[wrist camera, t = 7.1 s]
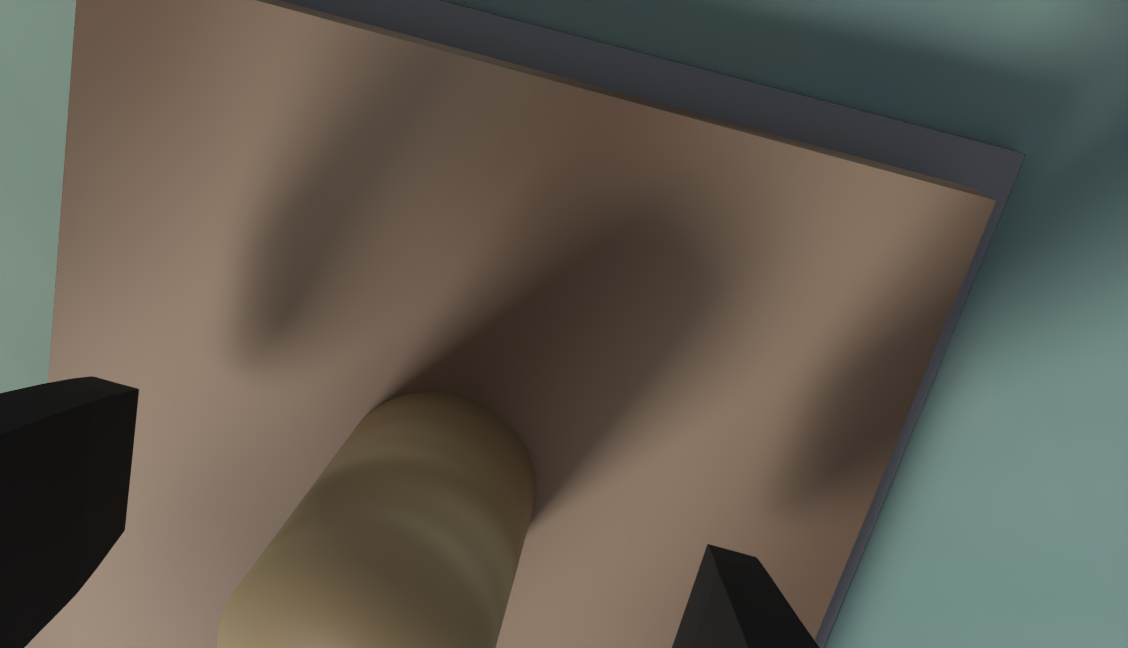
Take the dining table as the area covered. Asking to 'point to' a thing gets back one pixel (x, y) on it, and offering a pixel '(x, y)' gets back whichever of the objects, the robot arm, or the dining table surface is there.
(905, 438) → the mat
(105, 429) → the robot arm
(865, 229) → the lid
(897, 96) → the dining table surface
